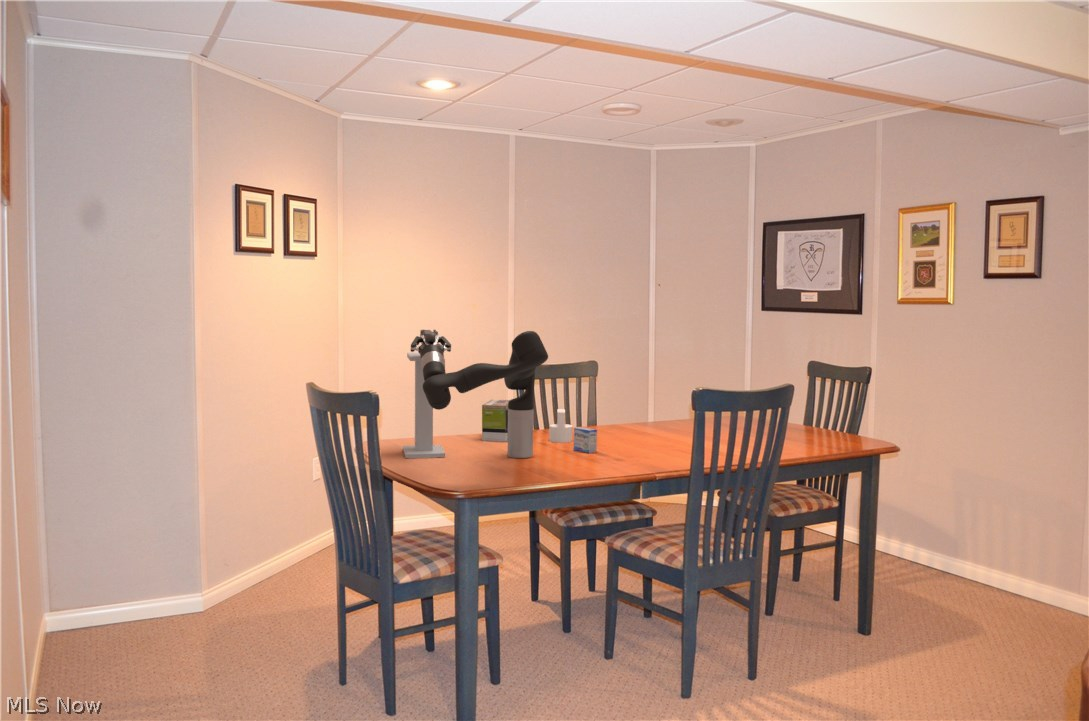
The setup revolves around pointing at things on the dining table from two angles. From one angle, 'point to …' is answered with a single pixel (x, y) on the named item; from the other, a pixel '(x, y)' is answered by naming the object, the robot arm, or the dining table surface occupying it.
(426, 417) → the pedestal
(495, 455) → the dining table surface
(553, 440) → the cylinder with rectangular tab
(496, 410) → the tea box
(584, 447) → the medicine box
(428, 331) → the dark cylinder
